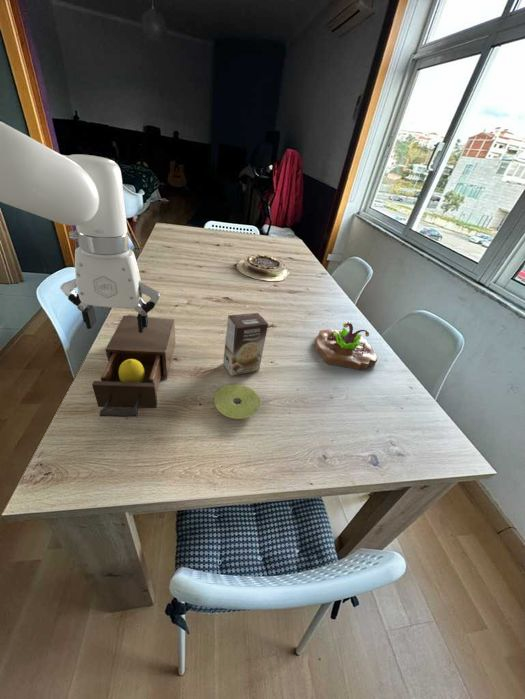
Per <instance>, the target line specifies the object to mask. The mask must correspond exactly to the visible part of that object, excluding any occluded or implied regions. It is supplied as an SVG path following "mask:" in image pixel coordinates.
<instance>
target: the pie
mask: <svg viewBox="0 0 525 699" xmlns="http://www.w3.org/2000/svg"><path fill="white" fill-rule="evenodd" d="M236 269H237V270H238V271H239V273H241V274H243V275H245V276H247V277H249V278H252V279H255V280H261V281H266V282H278V281H279V282H280V281H284V280H286V279H288V278H287V276H289V275H290V274H291V273H292V270H291V269H289V268H288V267H287V264H286V262H284V260H282V259H280V258H277V257H275V256H273V255H267V254H265V255H264V254H253V253H251V254H249V255H247V256H245V257H244V259H242V260H240V261H238V263H237V264H236Z"/></svg>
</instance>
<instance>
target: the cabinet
mask: <svg viewBox="0 0 525 699" xmlns="http://www.w3.org/2000/svg"><path fill="white" fill-rule="evenodd" d="M137 316H138V315H137ZM137 316H136V315H123V316H122V317H121V320H120V322H119V324H118V325H117V327H116V329H115V331H114V333H113V334H112V336H111V338H110V340H109V342H108V343H107V345H106V348H105V350H104V351H105V354H106V358H107V359H106V360H107V363H108V362H109V360H110V358H111V356H112V354H113V353H132V354H152V355H162V362H163V370H162V374H161V378H160V379H168V377H169V373H170V369H171V364H172V360H173V355H174V353H175V352H174V351H175V347H176V324H175V322H176V320H175V318H165V317H149V316H148V326H147V327H145V329H144V331H143V333H140V332H139V329H138V320H137Z"/></svg>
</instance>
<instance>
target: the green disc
mask: <svg viewBox="0 0 525 699" xmlns="http://www.w3.org/2000/svg"><path fill="white" fill-rule="evenodd" d="M213 401H214V406H215V408H216V410H217V411H218V412H219V413H221V414H222V415H223V416H225V417H227V418H230V419H235V420H241V419H247V418H249V417H252V416H253V415H255V414H256V413H257V412H258V410H259V409H260V406H261V400H260V397H259V395H258V394H257V393H256V392H255V391H254V389H252V388H251V387H248V386H246V385H242V384H230V385H226V386H223V387H222V388H220V389H219V390H217V392H216V394H215V395H214V399H213Z"/></svg>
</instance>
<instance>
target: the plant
mask: <svg viewBox="0 0 525 699" xmlns="http://www.w3.org/2000/svg"><path fill="white" fill-rule="evenodd" d="M342 327H343V328H342V329H321V330H319V331H318V335H317V336H316V337H315V341H314V346H315V351H316V353H318V354H319V355H320V356H321V357H322V359H323V360H324V363H325V364H328V365H332V366H339V367H343V368H352V369H355V370H357V371H358V370H367V368H368V367H374V366H375V365H376V363H377V361H378V355H377V354H376V352H375V350H374V349H373V348H372V346H371V344H370V343H369V342H368V341H367V339H365V337H370V333H369V331H367V330H366V329H359V330H356V331H355V332H354V326H353V324H352V323H351V322H350V321H347V322H345V323H343V324H342ZM346 328H348V329H349V330H347V329H346ZM361 332H365V334H364V335H365V337H363V336H362V334H360V333H361Z"/></svg>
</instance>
